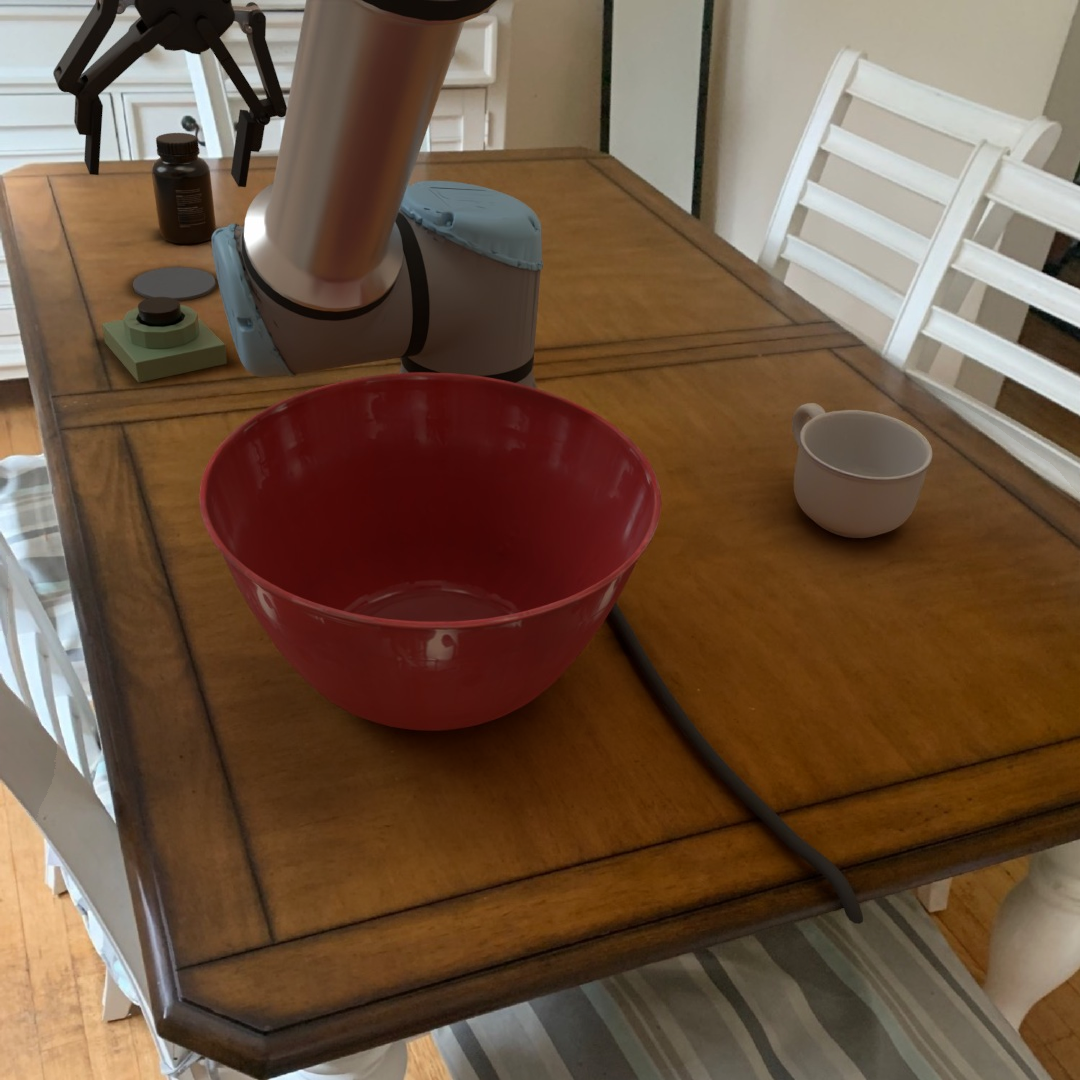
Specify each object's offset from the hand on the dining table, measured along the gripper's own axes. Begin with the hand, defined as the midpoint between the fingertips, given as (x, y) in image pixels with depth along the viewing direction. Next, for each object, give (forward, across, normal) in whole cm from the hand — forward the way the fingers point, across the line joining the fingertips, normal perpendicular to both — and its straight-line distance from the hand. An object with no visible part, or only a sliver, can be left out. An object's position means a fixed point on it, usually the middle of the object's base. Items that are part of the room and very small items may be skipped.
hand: (167, 174), depth 107 cm
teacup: (+1, -46, +52) cm, 70 cm away
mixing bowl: (+8, -6, +57) cm, 58 cm away
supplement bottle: (+21, -11, -27) cm, 36 cm away
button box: (+17, 0, +4) cm, 18 cm away
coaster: (+19, -5, -12) cm, 23 cm away
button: (+14, 0, +4) cm, 14 cm away
